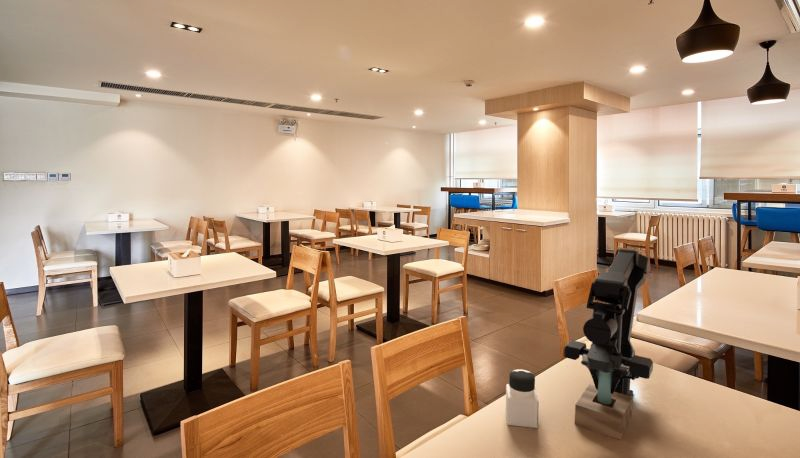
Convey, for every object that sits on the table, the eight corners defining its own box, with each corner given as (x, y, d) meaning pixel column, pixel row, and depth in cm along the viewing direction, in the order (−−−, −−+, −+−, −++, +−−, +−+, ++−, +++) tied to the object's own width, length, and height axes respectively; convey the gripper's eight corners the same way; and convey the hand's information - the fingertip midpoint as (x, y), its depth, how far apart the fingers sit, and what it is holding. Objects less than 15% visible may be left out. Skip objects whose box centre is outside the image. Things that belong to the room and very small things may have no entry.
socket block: (588, 401, 108) (589, 384, 107) (631, 415, 101) (632, 396, 101) (574, 423, 99) (575, 404, 98) (620, 439, 92) (621, 419, 92)
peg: (599, 396, 101) (600, 362, 100) (612, 400, 100) (614, 365, 98) (596, 401, 99) (597, 366, 98) (609, 405, 97) (611, 370, 96)
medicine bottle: (538, 428, 97) (539, 381, 95) (507, 425, 98) (508, 379, 97) (534, 411, 104) (535, 367, 102) (505, 409, 105) (506, 365, 104)
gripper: (556, 331, 97) (554, 392, 99) (646, 351, 85) (642, 420, 87) (571, 318, 105) (569, 374, 107) (655, 335, 93) (651, 398, 95)
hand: (604, 391), depth 99 cm, fingers closed on peg, 3 cm apart
